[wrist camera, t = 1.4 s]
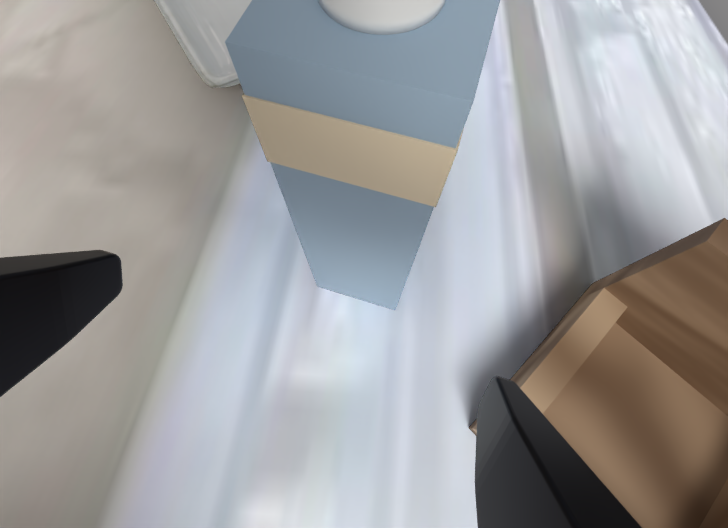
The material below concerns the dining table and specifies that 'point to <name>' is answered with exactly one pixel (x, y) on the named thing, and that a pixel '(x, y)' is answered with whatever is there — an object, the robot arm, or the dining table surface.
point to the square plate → (205, 35)
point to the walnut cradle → (647, 382)
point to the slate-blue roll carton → (361, 122)
